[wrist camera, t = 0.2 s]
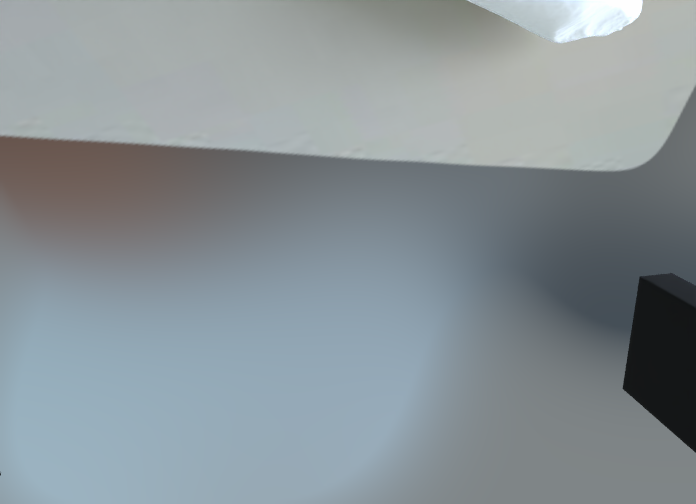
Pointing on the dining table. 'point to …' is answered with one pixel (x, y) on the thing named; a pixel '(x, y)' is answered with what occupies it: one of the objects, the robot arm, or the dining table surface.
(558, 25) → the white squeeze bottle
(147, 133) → the dining table surface
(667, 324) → the robot arm
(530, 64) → the dining table surface
